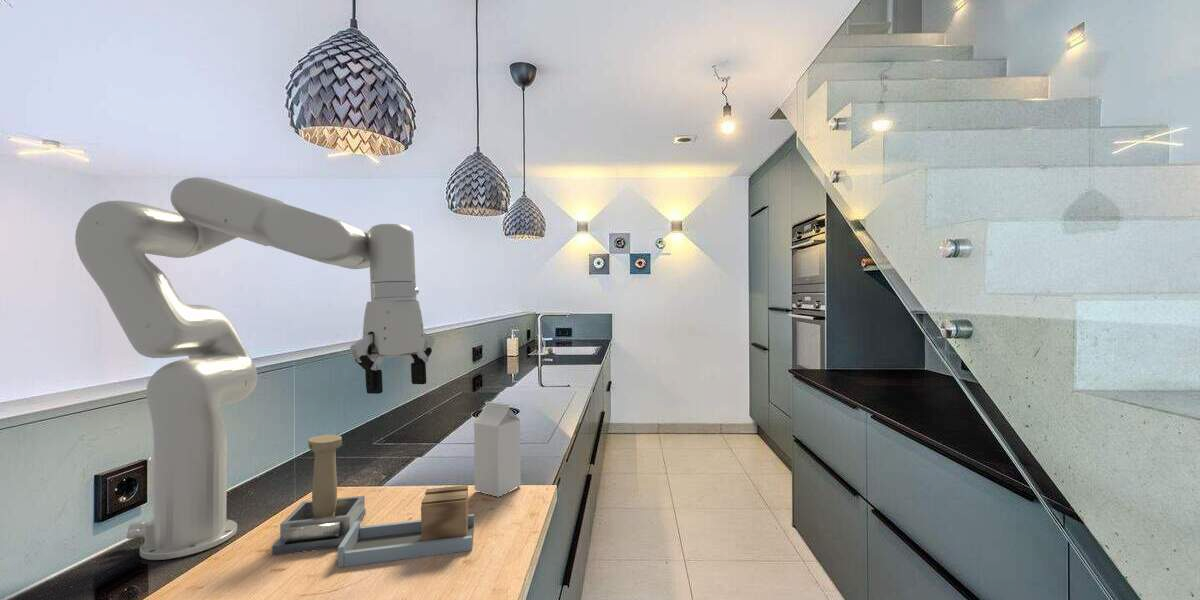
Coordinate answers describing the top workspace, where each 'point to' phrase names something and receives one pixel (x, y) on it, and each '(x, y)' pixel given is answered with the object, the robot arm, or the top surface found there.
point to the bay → (396, 543)
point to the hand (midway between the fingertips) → (398, 388)
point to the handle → (324, 474)
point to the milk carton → (497, 450)
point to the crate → (444, 513)
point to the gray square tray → (318, 527)
